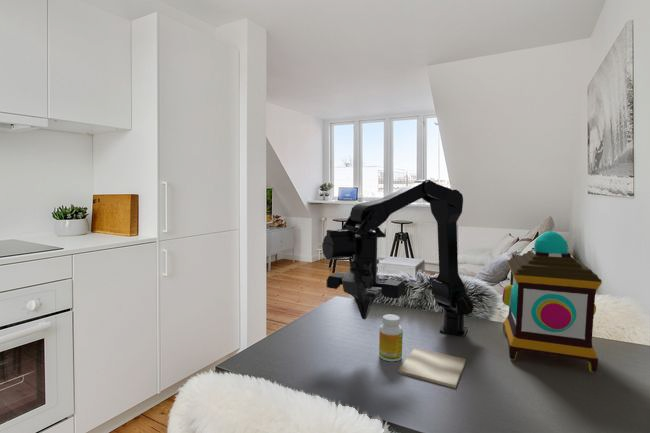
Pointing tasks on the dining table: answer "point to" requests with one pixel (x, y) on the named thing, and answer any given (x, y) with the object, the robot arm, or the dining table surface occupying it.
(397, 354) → the supplement bottle
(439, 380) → the birch mat
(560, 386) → the dining table surface
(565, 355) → the decorative lantern
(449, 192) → the robot arm
